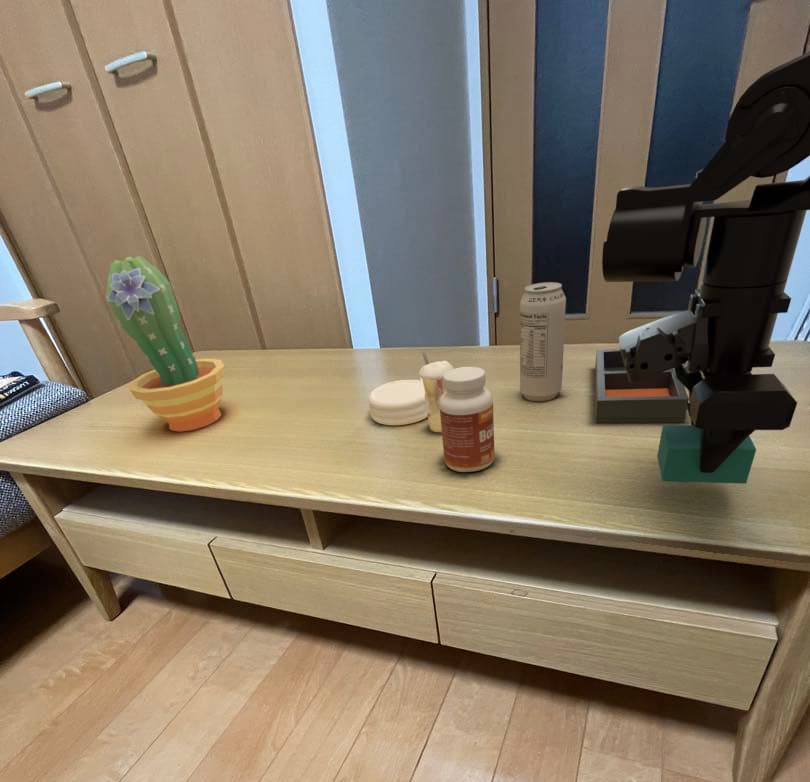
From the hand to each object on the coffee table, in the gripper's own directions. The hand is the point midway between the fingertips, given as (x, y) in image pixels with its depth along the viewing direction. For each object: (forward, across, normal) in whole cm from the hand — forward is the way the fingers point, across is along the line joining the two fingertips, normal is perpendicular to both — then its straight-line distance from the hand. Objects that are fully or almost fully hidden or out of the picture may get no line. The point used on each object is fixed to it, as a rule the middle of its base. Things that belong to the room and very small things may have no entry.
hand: (701, 458), depth 49 cm
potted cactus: (+5, -19, -74) cm, 77 cm away
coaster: (+5, -21, -37) cm, 43 cm away
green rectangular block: (+1, 0, 0) cm, 1 cm away
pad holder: (+4, -28, -4) cm, 28 cm away
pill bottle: (+5, -6, -24) cm, 25 cm away
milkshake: (+5, -16, -30) cm, 34 cm away
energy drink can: (+5, -27, -17) cm, 33 cm away
